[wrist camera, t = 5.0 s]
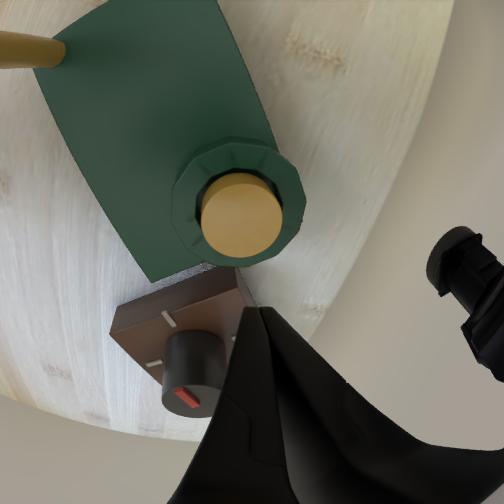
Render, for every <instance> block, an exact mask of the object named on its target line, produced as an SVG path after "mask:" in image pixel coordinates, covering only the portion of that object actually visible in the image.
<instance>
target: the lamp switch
mask: <svg viewBox="0 0 504 504" xmlns="http://www.w3.org/2000/svg"><path fill="white" fill-rule="evenodd" d="M282 218H283V216H282V210H281V207H280V205H279V203H278V201H277V199H276V197H275V196H274V194H273V192H272V191H271V189H270V187H269V186H268V185H267V184H266V183H265V182H264V181H263V180H262V179H260V178H259V177H257V176H254V175H252V174H248V173H232V174H228V175H225V176H223V177H221V178H219V179H218V180H216V181H215V182H214V183H212V184H211V186H210V187H209V188H208V189H207V191H206V193H205V195H204V197H203V200H202V209H201V228H202V232H203V235H204V237H205V239H206V241H207V242H208V243H209V244H210V246H211V247H213V248H214V249H215V250H216V251H218V252H220V253H222V254H224V255H227V256H230V257H238V258H242V257H249V256H253V255H256V254H258V253H260V252H262V251H264V250H265V249H267V248H268V247H269V246H270V245H271V244H272V243H273V242H274V241H275V240H276V238H277V237H278V235H279V232H280V230H281V227H282Z"/></svg>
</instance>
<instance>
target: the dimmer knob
mask: <svg viewBox="0 0 504 504" xmlns="http://www.w3.org/2000/svg"><path fill="white" fill-rule="evenodd" d="M227 365H228V364H227V355H226V347H225V345H224V343H223V341H222V340H221V339H220V338H218V337H217V336H215V335H213V334H211V333H209V332H205V331H198V330H190V331H184V332H180V333H178V334H175V335H174V336H172V337H171V338H170V339H169V340H168V341H167V343H166V346H165V355H164V368H163V383H162V404H163V405H164V407H165V408H166V409H167V410H169V411H170V412H172V413H174V414H177V415H180V416H184V417H190V418H206V417H212V415H213V412H214V409H215V406H216V403H217V400H218V396H219V393H220V390H221V386H222V383H223V379H224V376H225V372H226V369H227Z"/></svg>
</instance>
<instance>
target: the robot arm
mask: <svg viewBox="0 0 504 504" xmlns="http://www.w3.org/2000/svg"><path fill="white" fill-rule="evenodd" d="M482 239H483V236H482V234H480V233H478V234H476V235H474V236H472V237H471V238H469V239H467V240H465V241H463V242H462V243H460V244H458V245H456V246H454V247H452V248H450V249H449V250H447V251H445V252H443V254H442V255H441V265H440V278H439V289H438V295H439V296H440V297H443V296H445V295H446V294H448V293H450V292H451V293H452V294H453V296H454V297H455V298H456V299H457V300H458V301H459V302H460V304H461V305H462V306H463V307H464V308H465V309H466V310H467V312H468V313H469V314H470V317H469V318H468V319H467V321H466V322H465V323H463V325H462V326H461V330H462V331H463V335H464V336H465V338H466V340H467V342H468V344H469V346H470V348H471V350H472V352H473V354H474V356H475V358H476V360H477V362H478V363H479V364H482V365H484V366H485V367H486V368H488V369H490V370H491V372H492V374H493V375H494V377H495V379H496V380H498V381H501V382H503V383H504V266H503V265H502V264H501V263H500V262H498V261H497V257H496V256H495V255H494V254H492V253H491V252H490V251H489V250H488V249H487V248H485V247H484V246H483V245H482ZM167 504H504V448H503V449H500V450H494V451H484V450H470V449H460V448H450V447H442V446H436V445H430V444H427V443H425V442H422V441H420V440H418V439H416V438H415V437H413V436H412V435H410V434H409V433H408V432H406V431H405V430H404V429H402V428H401V427H400V426H398V425H397V424H396V423H394V422H393V421H392V420H391V419H389V418H388V417H387V416H385V415H384V414H383V413H381V412H380V411H379V410H378V409H377V408H375V407H374V406H373V405H372V404H370V403H369V402H368V401H367V400H366V399H365V398H364V397H363V396H362V395H360V394H359V393H358V392H357V391H356V390H355V389H354V388H353V387H352V386H351V385H350V384H349V383H346V380H345V379H344V378H343V377H342V376H340V374H339V373H338V372H336V371H335V370H334V369H333V368H332V367H331V366H330V365H329V364H328V363H327V362H326V361H325V360H324V359H323V358H322V357H321V356H320V355H319V354H318V353H317V352H316V351H315V350H314V349H313V348H312V347H311V346H310V345H309V344H308V343H307V342H306V341H305V340H304V339H303V338H302V337H301V336H300V335H299V334H298V333H297V332H296V331H295V330H294V329H293V328H292V327H291V326H290V325H289V323H288V322H287V321H286V320H285V319H284V318H283V317H282V316H281V315H280V314H279V313H278V312H277V311H276V310H275V309H274V308H272V307H259V308H258V307H256V306H245V307H244V308H243V312H242V315H241V319H240V322H239V326H238V330H237V333H236V337H235V340H234V344H233V347H232V351H231V355H230V358H229V362H228V365H227V369H226V372H225V376H224V379H223V383H222V386H221V390H220V393H219V396H218V400H217V403H216V406H215V409H214V412H213V415H212V418H211V421H210V423H209V425H208V428H207V430H206V432H205V435H204V437H203V439H202V441H201V443H200V445H199V447H198V449H197V451H196V453H195V455H194V457H193V459H192V461H191V463H190V465H189V467H188V469H187V471H186V473H185V475H184V477H183V478H182V480H181V482H180V484H179V486H178V488H177V489H176V491H175V492H174V494H173V495H172V497H171V498H170V500H169V501H168V502H167Z"/></svg>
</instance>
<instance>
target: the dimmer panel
mask: <svg viewBox="0 0 504 504" xmlns="http://www.w3.org/2000/svg"><path fill="white" fill-rule="evenodd" d="M245 306H256V307H257V305H256V303H255V301H254V299H253V297H252V295H251V293H250V292H249V290H248V288H247V286H246V284H245V282H244V280H243V278H242V276H241V274H240V272H239V270H238V268H237V267H231V266H219V267H216V268H214V269H211V270H209V271H206V272H204V273H201V274H199V275H196V276H194V277H191V278H189V279H186V280H184V281H181V282H179V283H176V284H174V285H171V286H169V287H166V288H164V289H161V290H159V291H156V292H154V293H151V294H148V295H146V296H143V297H141V298H138V299H136V300H133V301H131V302H128V303H126V304H123V305H121V306H118V307H117V308H116V312H115V315H114V319H113V322H112V326H111V329H110V333H109V335H110V336H111V337H112V338H113V339H114V340H115V341H116V342H117V343H118V344H119V345H120V346H121V347H122V348H123V349H124V350H125V351H126V352H127V353H128V354H129V355H130V356H131V357H132V358H133V359H134V360H135V361H136V362H137V363H138V364H139V365H140V366H141V367H142V368H143V369H144V370H145V371H146V372H147V373H149V374H150V375H151V376H152V377H153V378H154V379H155V380H156V381H157V382H158V383H160V384H161V385H162V383H163V368H164V355H165V346H166V343H167V341H168V340H169V339H170V338H171V337H172V336H174V335H175V334H178V333H180V332H184V331H190V330H198V331H205V332H209V333H211V334H213V335H215V336H217V337H218V338H220V339H221V340H222V341H223V343H224V345H225V347H226V355H227V364H228V362H229V358H230V355H231V351H232V347H233V344H234V340H235V337H236V333H237V330H238V326H239V322H240V319H241V315H242V312H243V308H244V307H245Z"/></svg>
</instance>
